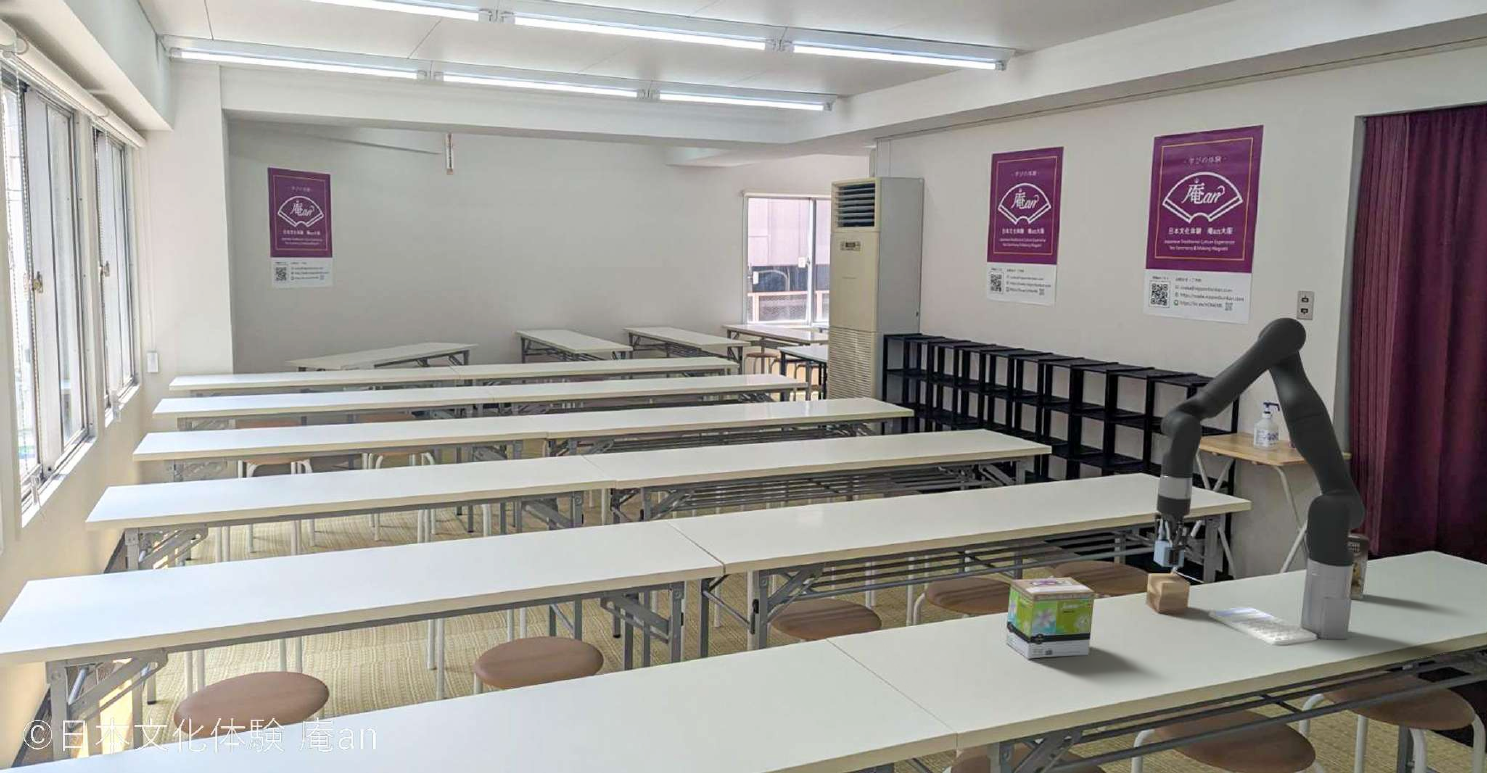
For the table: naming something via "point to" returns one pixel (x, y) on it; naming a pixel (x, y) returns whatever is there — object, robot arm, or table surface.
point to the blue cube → (1166, 554)
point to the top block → (1168, 586)
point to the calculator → (1262, 626)
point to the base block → (1166, 604)
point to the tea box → (1049, 617)
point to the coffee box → (1358, 563)
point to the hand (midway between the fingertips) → (1168, 560)
